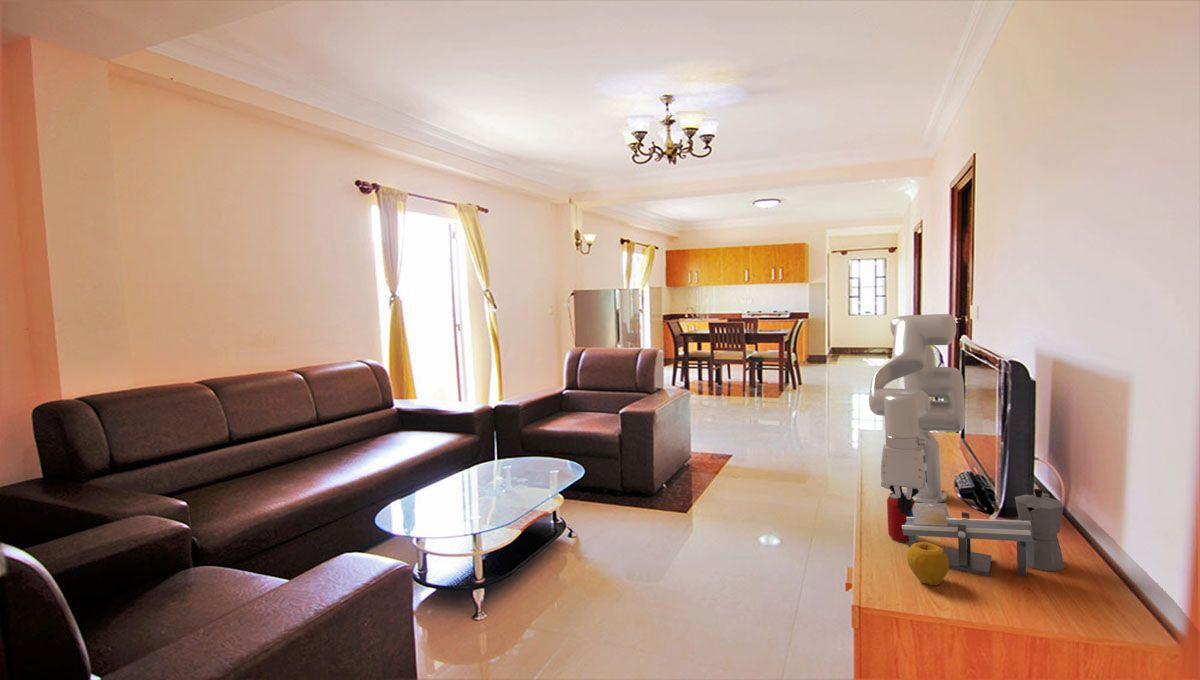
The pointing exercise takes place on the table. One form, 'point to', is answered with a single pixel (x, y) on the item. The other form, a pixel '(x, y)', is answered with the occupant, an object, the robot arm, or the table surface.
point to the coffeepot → (1042, 529)
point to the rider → (931, 514)
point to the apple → (928, 562)
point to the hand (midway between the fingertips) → (905, 512)
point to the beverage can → (897, 519)
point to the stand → (975, 554)
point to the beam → (975, 529)
